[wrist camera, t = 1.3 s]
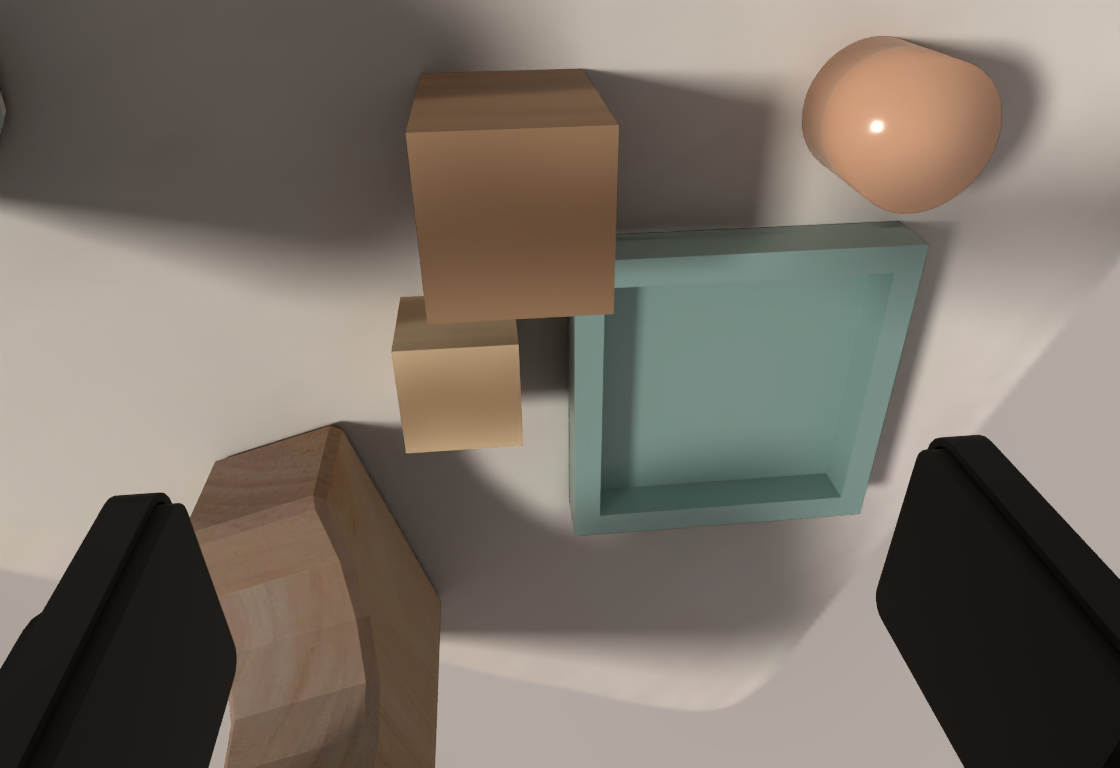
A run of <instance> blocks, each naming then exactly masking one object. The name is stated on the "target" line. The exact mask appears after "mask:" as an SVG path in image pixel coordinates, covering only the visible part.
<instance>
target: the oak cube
mask: <svg viewBox="0 0 1120 768" xmlns="http://www.w3.org/2000/svg"><path fill="white" fill-rule="evenodd" d="M391 353H392V360H393V367H394V373H395V380H396V387H397V394H398V401H399V408H400V415H401V422H402V429H403V436H404V443H405V450H406V453H420V452H435V451H450V450H465V449H479V448H494V447H509V446H523V432H522V410H521V387H520V364H519V343H518V334H517V325H516V319H513V320H495V321H477V322H459V323H441V324H427V317H426V309H425V300H424V296H417V297H400V303H399V309H398V315H397V321H396V327H395V333H394V339H393V345H392V351H391Z"/></svg>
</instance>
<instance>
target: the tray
mask: <svg viewBox="0 0 1120 768" xmlns="http://www.w3.org/2000/svg"><path fill="white" fill-rule="evenodd" d="M928 248H929V244H928V243H927V242H926V241H924V240H923V239H922V238H920V237H919V236H918V235H916V234H915V233H914V232H913V231H911V230H910V229H909V228H907V227H906V226H905V225H903V224H902V223H901V222H899V221H892V222H871V223H850V224H829V225H807V226H786V227H765V228H744V229H723V230H702V231H681V232H660V233H639V234H618V235H616V250H615V284H614V314H604V315H586V316H568V372H569V503H570V509H571V515H572V521H573V527H574V533H575V536H585V535H597V534H610V533H623V532H636V531H649V530H662V529H674V528H687V527H700V526H713V525H726V524H739V523H751V522H764V521H777V520H790V519H803V518H816V517H829V516H841V515H854V514H860V512H861V508H862V504H863V500H864V496H865V492H866V489H867V485H868V481H869V477H870V473H871V469H872V465H873V461H874V458H875V454H876V450H877V446H878V442H879V438H880V434H881V430H882V426H883V423H884V419H885V415H886V411H887V407H888V403H889V399H890V395H891V392H892V388H893V384H894V380H895V376H896V372H897V368H898V364H899V361H900V357H901V353H902V349H903V345H904V341H905V337H906V333H907V329H908V326H909V322H910V318H911V314H912V310H913V306H914V302H915V298H916V295H917V291H918V287H919V283H920V279H921V275H922V271H923V267H924V264H925V260H926V256H927V252H928Z"/></svg>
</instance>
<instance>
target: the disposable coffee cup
mask: <svg viewBox="0 0 1120 768" xmlns="http://www.w3.org/2000/svg"><path fill="white" fill-rule="evenodd" d="M5 114H6V108H5V105H4V101H3V98H2V94H1V91H0V134H1V131H2V128H3V125H4V117H5Z"/></svg>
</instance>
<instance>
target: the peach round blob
mask: <svg viewBox="0 0 1120 768" xmlns="http://www.w3.org/2000/svg"><path fill="white" fill-rule="evenodd" d="M1001 122H1002V107H1001V101H1000V97H999V94H998V91H997V89H996V87H995V85H994V83H993V81H992V80H991V79H990V78H989V76H988V75H987V74H986V73H985V72H984V71H982V70H981V69H980V68H978V67H977V66H975V65H973V64H971V63H968V62H965V61H963V60H960V59H957V58H954V57H951V56H948V55H945V54H942V53H940V52H937V51H934V50H931V49H928V48H925V47H922V46H919V45H916V44H913V43H911V42H908V41H905V40H902V39H899V38H895V37H890V36H876V37H870V38H866V39H862V40H859V41H857V42H854V43H852V44H850V45H849V46H847V47H845V48H844V49H842V50H841V51H839V52H838V53H836V54H835V55H834V56H833V57H832V58H831V59H830V60H829V61H828V62H827V63H826V64H825V65H824V66H823V67H822V69H821V70H820V71H819V72H818V74H817V75H816V77H815V79H814V80H813V82H812V84H811V86H810V88H809V90H808V92H807V95H806V98H805V102H804V106H803V112H802V130H803V135H804V139H805V142H806V144H807V146H808V148H809V150H810V152H811V153H812V155H813V156H814V157H815V158H816V159H817V160H818V161H819V162H820V163H821V164H822V165H824V166H825V167H826V168H828V169H829V170H830V171H831V172H833V173H834V174H835V175H837V176H838V177H839V178H840V179H842V180H843V181H844V182H846V183H847V184H848V185H849V186H851V187H852V188H853V189H855V190H856V191H857V192H859V193H860V194H861V195H862V196H864V197H865V198H866V199H868V200H869V201H870V202H872V203H873V204H874V205H876V206H878V207H880V208H882V209H884V210H887V211H890V212H895V213H918V212H922V211H926V210H929V209H932V208H935V207H938V206H940V205H942V204H944V203H946V202H948V201H949V200H951V199H952V198H954V197H955V196H957V195H958V194H959V193H961V192H962V191H963V190H964V189H966V188H967V187H968V186H969V185H970V184H971V183H972V182H973V181H974V180H975V179H976V177H977V176H978V175H979V174H980V173H981V171H982V170H983V168H984V167H985V166H986V164H987V162H988V161H989V159H990V157H991V155H992V153H993V151H994V149H995V147H996V144H997V141H998V138H999V134H1000V129H1001Z"/></svg>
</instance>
